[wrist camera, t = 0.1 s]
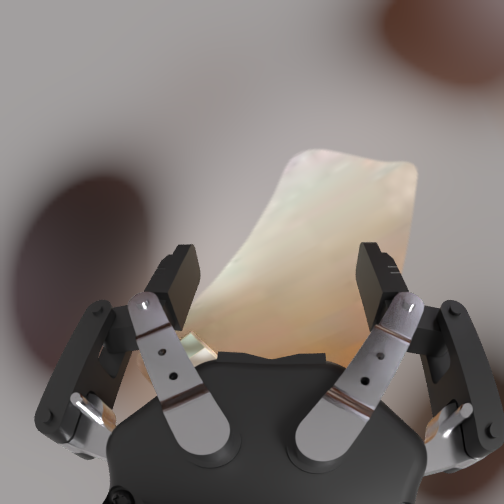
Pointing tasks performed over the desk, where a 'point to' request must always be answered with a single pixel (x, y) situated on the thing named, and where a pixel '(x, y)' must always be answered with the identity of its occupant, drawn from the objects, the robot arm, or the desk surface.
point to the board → (197, 349)
